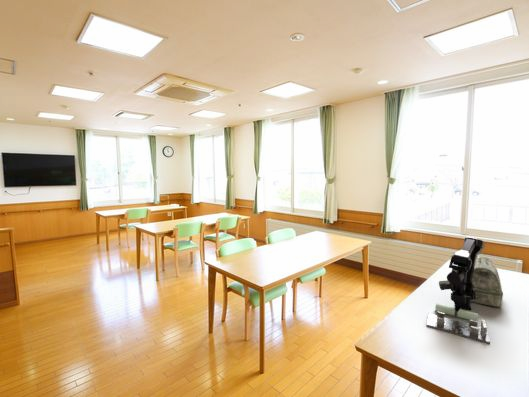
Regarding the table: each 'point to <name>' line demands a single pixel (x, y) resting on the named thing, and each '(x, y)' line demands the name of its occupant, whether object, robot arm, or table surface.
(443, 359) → the table surface
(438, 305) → the tube
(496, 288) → the lunch bag
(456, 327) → the saddle plate
